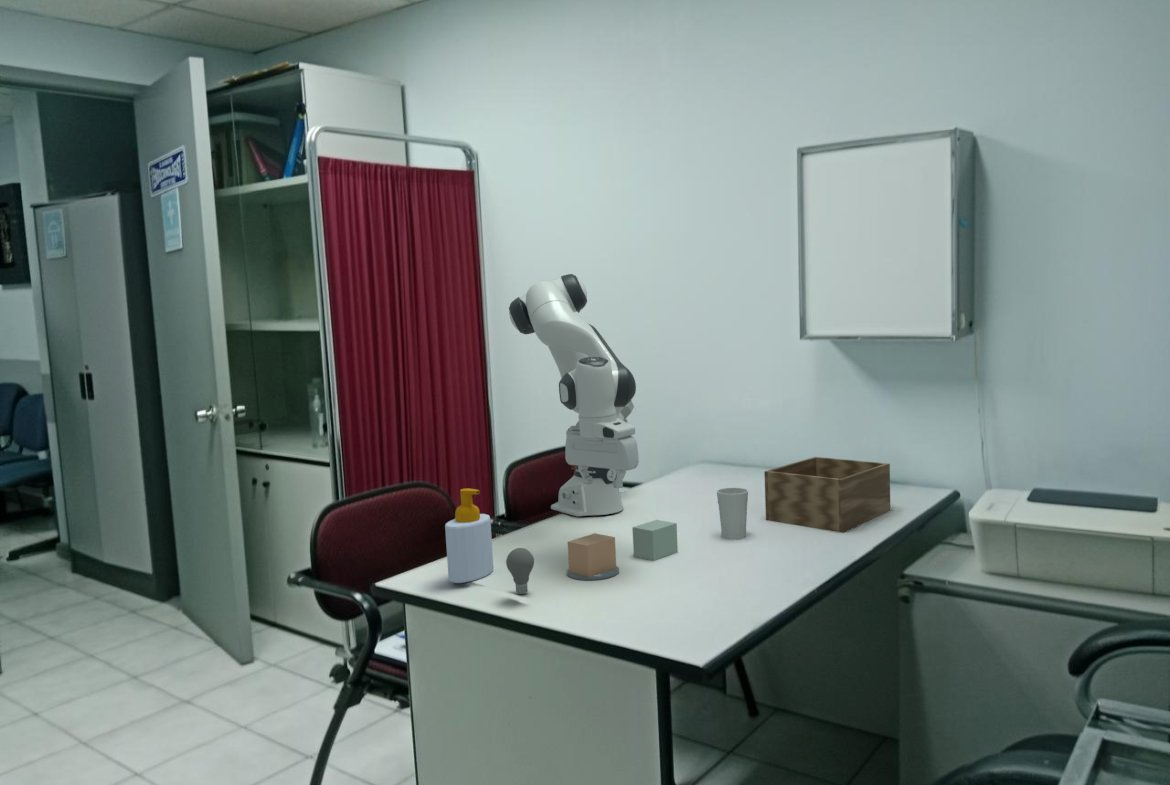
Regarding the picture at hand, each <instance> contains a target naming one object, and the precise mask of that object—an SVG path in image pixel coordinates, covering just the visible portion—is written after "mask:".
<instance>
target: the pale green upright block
mask: <svg viewBox="0 0 1170 785" xmlns="http://www.w3.org/2000/svg"><path fill="white" fill-rule="evenodd" d="M677 524H678V523H676V522H673V521H672V522H671V521H666V520H660V519H654V520H652V521H649V522H645V523H642V524H639V525H635V526H632V548H633V557H635V558H640V559H645V560H650V561H656V560H660V559H661V558H665V557H667V556H671V555H673V554H677V553H679V551H678V548H679V547H678V525H677Z"/></svg>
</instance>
